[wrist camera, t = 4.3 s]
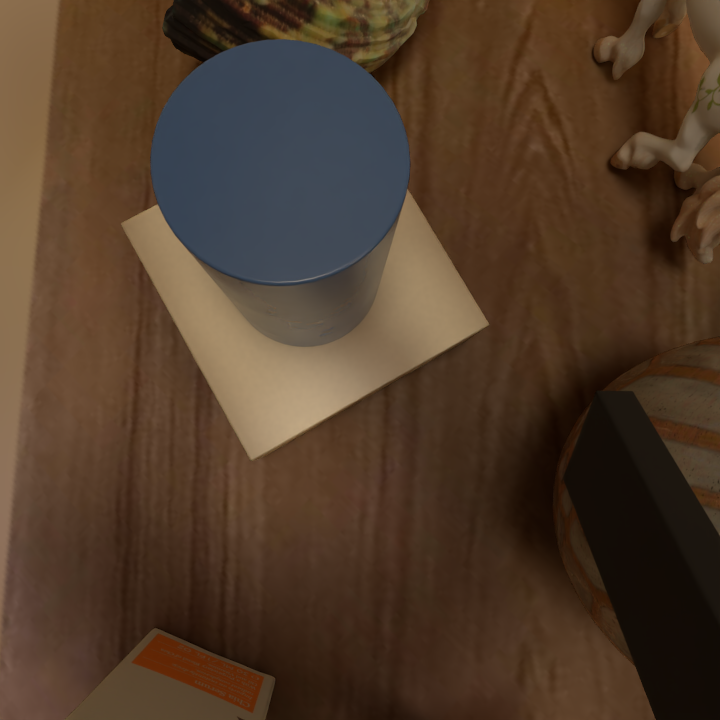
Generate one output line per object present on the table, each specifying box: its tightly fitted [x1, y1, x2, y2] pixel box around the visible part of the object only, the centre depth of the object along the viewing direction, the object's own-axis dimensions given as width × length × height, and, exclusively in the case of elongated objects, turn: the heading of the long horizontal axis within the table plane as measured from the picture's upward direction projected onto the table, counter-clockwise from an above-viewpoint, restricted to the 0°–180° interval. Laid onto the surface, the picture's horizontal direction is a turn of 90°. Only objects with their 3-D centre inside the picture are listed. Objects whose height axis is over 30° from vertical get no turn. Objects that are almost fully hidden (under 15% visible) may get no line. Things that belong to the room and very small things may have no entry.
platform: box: [121, 188, 489, 461], centre depth 25 cm, size 11×11×4 cm
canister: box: [150, 39, 410, 347], centre depth 18 cm, size 6×6×10 cm
